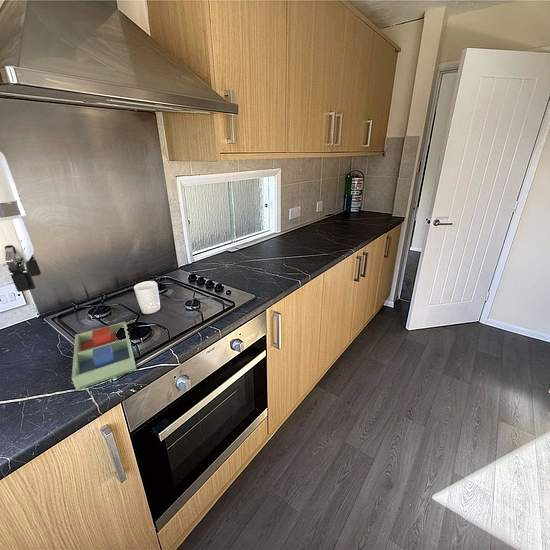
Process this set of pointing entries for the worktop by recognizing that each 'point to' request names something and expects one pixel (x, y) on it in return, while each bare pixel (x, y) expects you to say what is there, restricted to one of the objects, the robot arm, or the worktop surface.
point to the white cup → (147, 296)
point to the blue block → (103, 356)
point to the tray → (84, 364)
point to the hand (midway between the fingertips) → (30, 282)
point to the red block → (101, 336)
